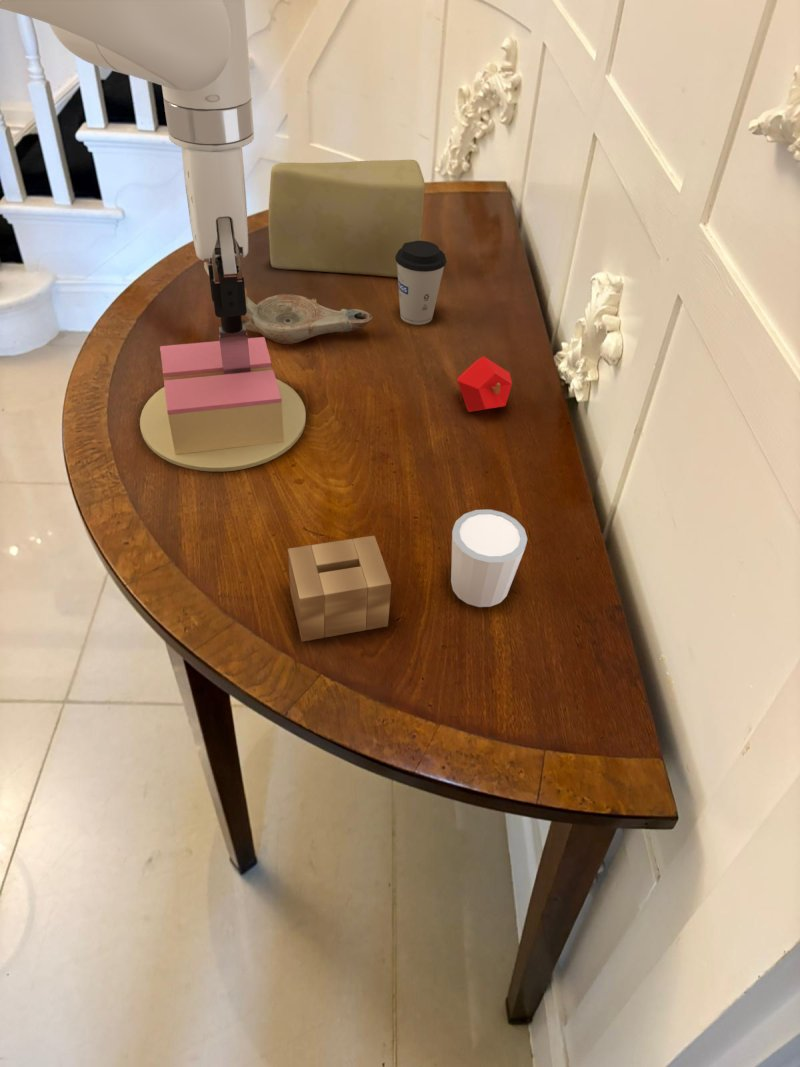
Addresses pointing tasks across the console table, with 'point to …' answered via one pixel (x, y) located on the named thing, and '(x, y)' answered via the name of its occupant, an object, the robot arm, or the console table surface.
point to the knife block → (339, 587)
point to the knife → (234, 345)
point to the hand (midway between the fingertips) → (229, 306)
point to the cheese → (344, 215)
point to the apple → (484, 385)
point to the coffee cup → (419, 280)
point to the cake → (220, 410)
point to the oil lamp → (298, 318)
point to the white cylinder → (485, 556)
